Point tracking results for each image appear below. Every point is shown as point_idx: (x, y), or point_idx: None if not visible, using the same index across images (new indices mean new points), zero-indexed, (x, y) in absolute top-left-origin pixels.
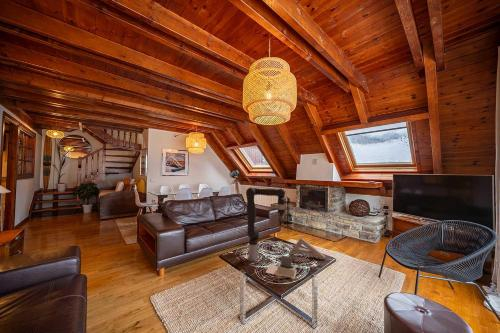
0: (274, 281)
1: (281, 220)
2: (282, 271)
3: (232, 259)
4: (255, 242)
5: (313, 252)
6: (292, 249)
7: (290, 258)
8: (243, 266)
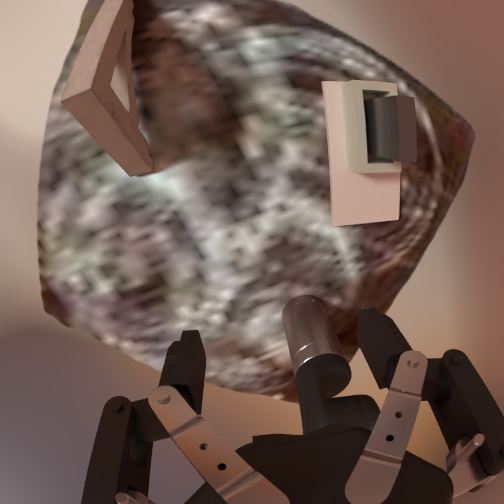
0: (431, 165)
1: (426, 373)
2: None
3: None
4: (344, 365)
5: (123, 28)
6: (139, 153)
7: (413, 101)
8: None
